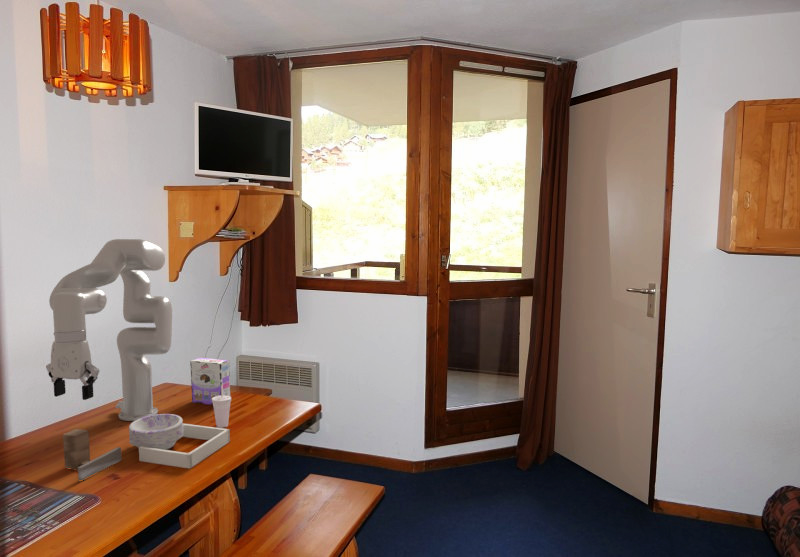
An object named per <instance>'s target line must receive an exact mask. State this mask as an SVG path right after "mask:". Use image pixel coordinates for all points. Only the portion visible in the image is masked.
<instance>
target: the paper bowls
mask: <svg viewBox="0 0 800 557" xmlns="http://www.w3.org/2000/svg"><path fill="white" fill-rule="evenodd" d="M183 420H184V419H183V418H182V417H181V416H180V415H177V414H174V413H172V414H171V413H160V414H158V413H157V414H156V415H150V416H146V417H143V418H140V419H138V420H136V421H131V423H130V424H129V426H128V433H129V444H130V445H131V446H134V447H137V448H138V449H139V447H141V446H142V447H149V448H156V449H163V450H170V449H171V448H172V447H174V446H175V444H176V442H177V441H178V440H180V439H182V438H183V437H182V436H183Z"/></svg>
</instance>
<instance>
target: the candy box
mask: <svg viewBox="0 0 800 557" xmlns="http://www.w3.org/2000/svg"><path fill="white" fill-rule="evenodd" d="M189 362H190V364H189V365H190V381H191V382H190V383H191V385H190V386H191V402H192V403H194V404H195V403H197V404H203V405H212V406H213V403H212V398H213V397H215V396H220V395H221V385H223V395H228V396H231V381H230V380H231V378H230V376H231V375H230V374H231V373H230V370H231V369H230V360H229V359H218V358H210V357H209V358H207V357H197V358H193V359H192V360H189Z"/></svg>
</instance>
